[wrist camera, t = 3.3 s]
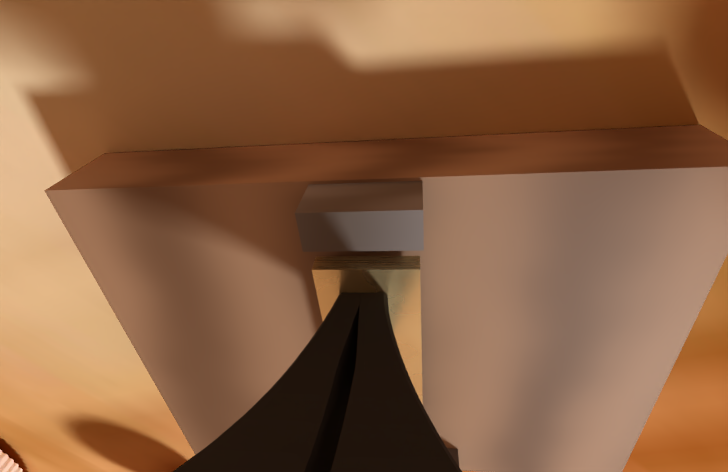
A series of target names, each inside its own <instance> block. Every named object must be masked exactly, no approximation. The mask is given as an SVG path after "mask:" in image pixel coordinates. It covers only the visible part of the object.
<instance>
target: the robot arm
mask: <svg viewBox="0 0 728 472" xmlns="http://www.w3.org/2000/svg"><path fill="white" fill-rule="evenodd" d="M173 472H462V471H461V469H460V468H459V466H458V465H457V463H456V462H455V460H454V459H453V457H452V455H451V454H450V452H449V451H448V449H447V447H446V446H445V444H444V443H443V441H442V439H441V437H440V436H439V434H438V432H437V430H436V429H435V427H434V425H433V423H432V421H431V420H430V418H429V416H428V414H427V413H426V411H425V409H424V407H423V405H422V403H421V401H420V399H419V397H418V395H417V392H416V390H415V388H414V386H413V384H412V381H411V379H410V377H409V374H408V372H407V370H406V367H405V364H404V362H403V359H402V357H401V354H400V351H399V348H398V345H397V342H396V338H395V335H394V332H393V328H392V324H391V320H390V315H389V306H388V295H386V294H385V293H384V292H375V293H349V292H342V293H341V294H340V295H339V296H338V297H337V299H336V301H335V303H334V305H333V306H332V308H331V310H330V311H329V313H328V314H327V316H326V318H325V319H324V321H323V322H322V324H321V325H320V327H319V328H318V330H317V331H316V333H315V334H314V336H313V337H312V338H311V340H310V341H309V343H308V344H307V345H306V347H305V348H304V349H303V351H302V352H301V353H300V354H299V356H298V357H297V358H296V360H295V361H294V362H293V363H292V365H291V366H290V367H289V368H288V369H287V371H286V372H285V373H284V374H283V375H282V376H281V378H280V379H279V380H278V381H277V382H276V383H275V384H274V385H273V386H272V387H271V388H270V390H269V391H268V392H267V393H266V394H265V395H264V396H263V397H262V398H261V399H260V400H259V401H258V402H257V403H256V404H255V405H254V406H253V407H252V408H251V409H249V410H248V411H247V412H246V413H245V414H244V415H243V416H242V417H241V418H240V419H239V420H237V421H236V422H235V423H234V424H233V425H232V426H230V427H229V428H228V429H227V430H226V431H225V432H223V433H222V434H221V435H220V436H219V437H218V438H216V439H215V440H214V441H213V442H212V443H210V444H209V445H208V446H207V447H205V448H204V449H203V450H201V451H200V452H199V453H197V454H196V455H195V456H193V457H192V458H191V459H189V460H188V461H187V462H185V463H184V464H183V465H181V466H180V467H179V468H177V469H176V470H174V471H173Z"/></svg>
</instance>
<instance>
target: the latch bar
mask: <svg viewBox="0 0 728 472" xmlns="http://www.w3.org/2000/svg"><path fill="white" fill-rule="evenodd" d="M312 274H313V278H314V283H315V288H316V293H317V297H318V302H319V307H320V311H321V316H322V321H324V319H325V318H326V316H327V314H328V313H329V311H330V310H331V308H332V306H333V305H334V303H335V301H336V299H337V297H338V296H339V295H340V294H341V293H342V292H349V293H375V292H384V293H385V294H386V295H388V306H389V315H390V320H391V324H392V328H393V332H394V335H395V338H396V342H397V345H398V348H399V351H400V354H401V357H402V359H403V362H404V364H405V367H406V370H407V372H408V374H409V377H410V379H411V381H412V384H413V386H414V388H415V390H416V392H417V395H418V397H419V399H420V401H421V403H422V405H423V393H422V338H421V283H420V256H332V257H316V258H315V261H314V264H313V267H312Z"/></svg>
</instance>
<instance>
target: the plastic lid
mask: <svg viewBox="0 0 728 472" xmlns="http://www.w3.org/2000/svg"><path fill="white" fill-rule="evenodd" d="M18 466H19V465H18V464H17V463H14V460H13V459H11V458H9V457H8V455H7V454H5V453H3V452H2V450H1V449H0V472H22V470H23V469H22V468H19V467H18Z"/></svg>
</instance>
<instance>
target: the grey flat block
mask: <svg viewBox="0 0 728 472" xmlns="http://www.w3.org/2000/svg"><path fill="white" fill-rule="evenodd" d="M45 192H46V194H47V196H48V197H49V199H50V201H51V203H52V204H53V206H54V208H55V210H56V211H57V213H58V215H59V217H60V218H61V220H62V222H63V224H64V225H65V227H66V229H67V231H68V232H69V234H70V236H71V238H72V239H73V241H74V243H75V245H76V246H77V248H78V250H79V252H80V253H81V255H82V257H83V259H84V260H85V262H86V264H87V266H88V267H89V269H90V271H91V273H92V274H93V276H94V278H95V280H96V281H97V283H98V285H99V287H100V288H101V290H102V292H103V294H104V295H105V297H106V299H107V301H108V302H109V304H110V306H111V308H112V309H113V311H114V313H115V315H116V316H117V318H118V320H119V322H120V323H121V325H122V327H123V329H124V330H125V332H126V334H127V336H128V337H129V339H130V341H131V343H132V344H133V346H134V348H135V350H136V351H137V353H138V355H139V357H140V358H141V360H142V362H143V364H144V365H145V367H146V369H147V371H148V372H149V374H150V376H151V378H152V379H153V381H154V383H155V385H156V386H157V388H158V390H159V392H160V393H161V395H162V397H163V399H164V400H165V402H166V404H167V406H168V407H169V409H170V411H171V413H172V414H173V416H174V418H175V420H176V421H177V423H178V425H179V427H180V428H181V430H182V432H183V434H184V435H185V437H186V439H187V441H188V442H189V444H190V446H191V448H192V449H193V451H194V453H195V454H197V453H199V452H200V451H201V450H203V449H204V448H205V447H207V446H208V445H209V444H210V443H212V442H213V441H214V440H215V439H216V438H218V437H219V436H220V435H221V434H222V433H223V432H225V431H226V430H227V429H228V428H229V427H230V426H232V425H233V424H234V423H235V422H236V421H237V420H239V419H240V418H241V417H242V416H243V415H244V414H245V413H246V412H247V411H248V410H249V409H251V408H252V407H253V406H254V405H255V404H256V403H257V402H258V401H259V400H260V399H261V398H262V397H263V396H264V395H265V394H266V393H267V392H268V391H269V390H270V388H271V387H272V386H273V385H274V384H275V383H276V382H277V381H278V380H279V379H280V378H281V376H282V375H283V374H284V373H285V372H286V371H287V369H288V368H289V367H290V366H291V365H292V363H293V362H294V361H295V360H296V358H297V357H298V356H299V354H300V353H301V352H302V351H303V349H304V348H305V347H306V345H307V344H308V343H309V341H310V340H311V338H312V337H313V336H314V334H315V333H316V331H317V330H318V328H319V327H320V325H321V324H322V322H323V321H322V316H321V311H320V307H319V302H318V297H317V293H316V288H315V283H314V278H313V274H312V267H313V264H314V261H315V258H316V257H332V256H420V283H421V338H422V393H423V407H424V409H425V411H426V413H427V414H428V416H429V418H430V420H431V421H432V423H433V425H434V427H435V429H436V430H437V432H438V434H439V436H440V437H441V439H442V441H443V443H444V444H445V446H446V447H447V449H448V451H449V452H450V454H451V455H452V457H453V459H454V460H455V462H456V463H457V465H458V466H459V468H460V469H461V470H462V471H479V472H622V471H623V469H624V467H625V465H626V463H627V461H628V459H629V456H630V454H631V452H632V450H633V448H634V446H635V444H636V442H637V440H638V438H639V436H640V434H641V432H642V430H643V428H644V425H645V423H646V421H647V419H648V417H649V415H650V413H651V411H652V409H653V407H654V405H655V403H656V401H657V399H658V396H659V394H660V392H661V390H662V388H663V386H664V384H665V382H666V380H667V378H668V376H669V374H670V372H671V370H672V368H673V365H674V363H675V361H676V359H677V357H678V355H679V353H680V351H681V349H682V347H683V345H684V343H685V341H686V339H687V336H688V334H689V332H690V330H691V328H692V326H693V324H694V322H695V320H696V318H697V316H698V314H699V312H700V310H701V308H702V305H703V303H704V301H705V299H706V297H707V295H708V293H709V291H710V289H711V287H712V285H713V283H714V281H715V279H716V277H717V274H718V272H719V270H720V268H721V266H722V264H723V262H724V260H725V258H726V256H727V254H728V140H726V139H724V138H722V137H721V136H719V135H717V134H715V133H714V132H712V131H710V130H709V129H707V128H705V127H703V126H702V125H684V126H663V127H642V128H621V129H601V130H580V131H559V132H538V133H517V134H496V135H476V136H455V137H434V138H413V139H392V140H371V141H351V142H330V143H309V144H288V145H267V146H246V147H225V148H205V149H184V150H163V151H142V152H121V153H105V154H103V155H101V156H100V157H98V158H97V159H95V160H93V161H92V162H90V163H89V164H87V165H85V166H84V167H82V168H80V169H79V170H77V171H76V172H74V173H72V174H71V175H69V176H67V177H66V178H64V179H63V180H61V181H59V182H58V183H56V184H54V185H53V186H51V187H50V188H48V189H46V190H45Z"/></svg>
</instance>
